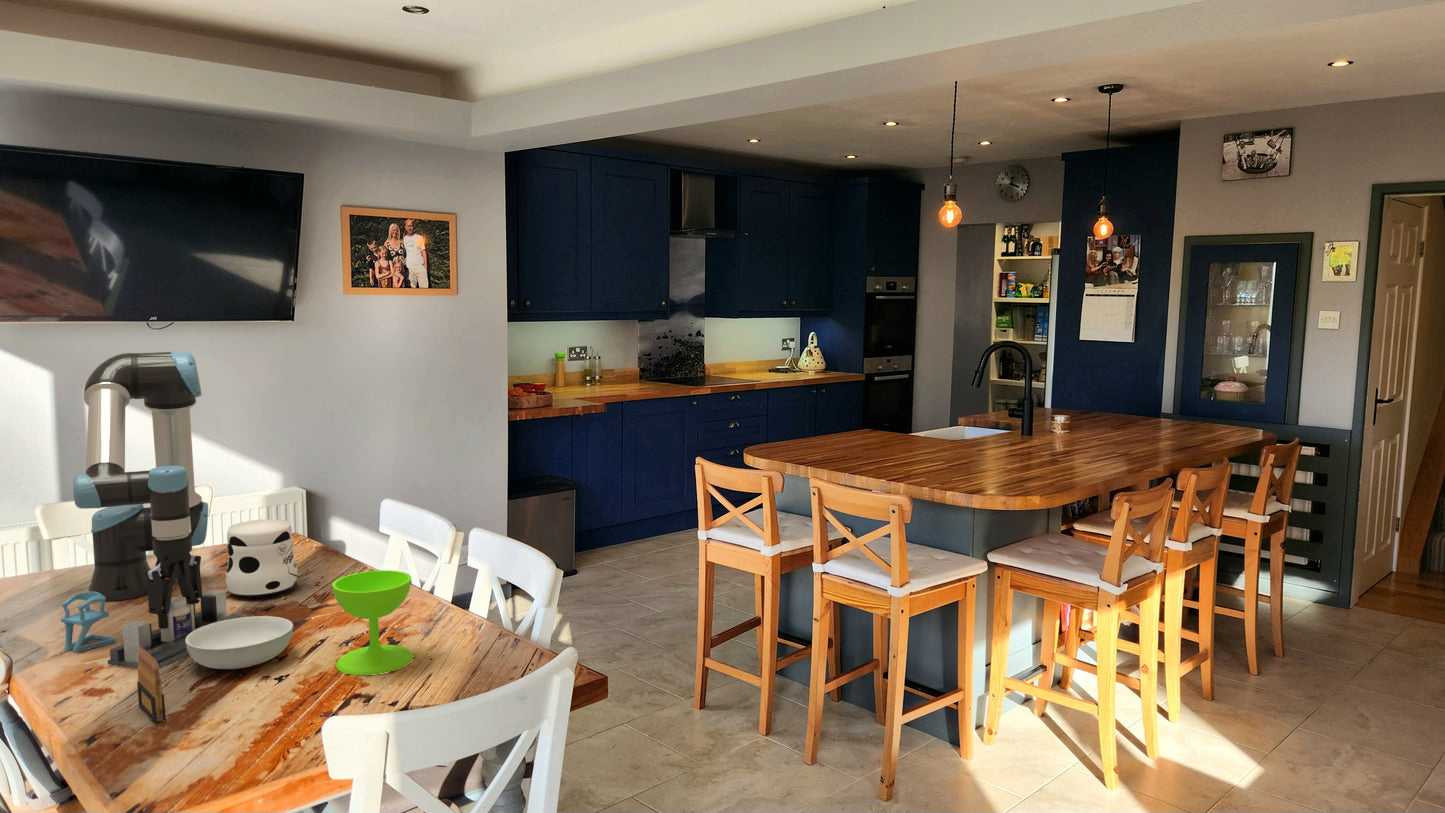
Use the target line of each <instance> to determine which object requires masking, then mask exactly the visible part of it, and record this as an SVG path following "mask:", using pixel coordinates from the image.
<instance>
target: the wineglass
mask: <svg viewBox="0 0 1445 813" xmlns="http://www.w3.org/2000/svg"><path fill="white" fill-rule="evenodd" d="M411 582H412V576H411V575H410V574H409V573H406V572H404V571H398V570H389V569H388V570H387V569H386V570H383V569H380V570H367V571H362V572H361V571H360V572H356V573H355V572H354V573H352V574H348V575H344V576H342V577H340V578H337V579H336V580H334V582H332V584H331V585H332V593H333V597H334V599H335V600H336V602H337V605H339V606H340V607H341V608H342V610H343V611H345V612H346V613H348V614H349V615H351V616H353V617H356V618H359V619H365V620H368V628H369V629H368V630H369V631H368V632H369V645H368V646H364V647H363V646H362V647H359V648H356V649H353V650H351V651H348V652H346V653H345V654H343V655H342V656H341V657H340V658H339V659H338V660H337V662H336V664H335V669H336V668H337V669H338V670H339V671H341V672H343V673H346V674H352V675H372V674H380V673H385V672H389V671H394V670H396V669H399V668H401V667H404V666H405V665H407V664H408V663H410V662H411V661H412V659H413V655H414V653H413V652H412V651H411V650H410V649H409V648H406V647H404V646H402V645H398V644H380V632H379V631H380V627H379V626H380V625H379V618H383V617H386V616H388V615H390V614H392V613H393V612H395V611H396V610H397V609H398V608H400V606H402V604H403V603H404V601H405V600H406V598H407V597H408V594H409V592H410V589H411ZM413 660H414V659H413ZM412 662H413V661H412ZM412 662H411V663H412ZM411 663H410V664H411ZM404 668H405V667H404ZM337 669H336V670H337ZM338 670H337V671H338ZM339 671H338V672H339ZM341 672H340V673H341ZM394 672H395V671H394ZM343 673H342V674H343ZM346 674H345V675H346Z"/></svg>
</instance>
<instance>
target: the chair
mask: <svg viewBox="0 0 1445 813" xmlns="http://www.w3.org/2000/svg"><path fill="white" fill-rule="evenodd" d="M77 600H80V601H84V602H83V603H82V604H80V605H79V606H77V609H78V611H79V612H78V613H74V614H70V612H71V611H70V609H69V608H68V606H70V604H71V603H73V602H74V601H77ZM105 600H106V598H105V597H104V596H103V595H102V594H100V593H98V592H94V591H90V592H89V591H86V592H81V593H78V594H74V595H73V596H70V597H69V598H67V600H66V601H64V602H62V603H61V604H60V605H61V607H62V608H63V610H64V617H62V618H60V622H61V623H64V626H65V627H64V628H65V642H64V644H65V645H64V646H65V647H64V652H69V650H70V651H72V653H73V652H76V653H78V652H77V651H80V652H83V651H86V650H85V649H87V650H89V649H88V648H91V649H93V648H92V647H95V648H97V646H99V647H101V645H103V646H106V645H105V644H107V645H110V643H111V644H113V642H114V643H116V642H117V638H116V637H113V636H107V635H100V634H95V633H91V634H88V632H89V630H90V629H91V627H92V626H93V625H94V624H95V623H97V622H99V621H101V620H102V619H105V618H107V617H110V612H108V611H105V608H104V607H105V604H106V601H105ZM95 603H100V605H99V608H98V609H99V610H94V609H91V607H90V605H92V604H95ZM75 625H76V626H81V627H82V628H81V631H80V634H79V636H78V638H77V640H76V641H75V642H73V635H74V634H73V633H74V626H75ZM91 638H92V639H94V638H97V639H96V640H99V639H101V640H100V641H96V642H92V643H86V642H88V641H90V640H92V639H91ZM89 639H90V640H89ZM87 640H88V641H87ZM84 642H85V643H86V644H85V643H84ZM82 643H83V644H82ZM71 649H72V650H71ZM82 650H83V651H82Z"/></svg>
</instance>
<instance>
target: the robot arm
mask: <svg viewBox="0 0 1445 813" xmlns="http://www.w3.org/2000/svg"><path fill="white" fill-rule="evenodd" d="M202 394H203V393H202V388H201V383H200V377H199V372H198V367H197V364H196V359H195V357H194V356H193V354H192V353H189V352H180V351H179V352H175V351H167V352H166V351H161V352H142V353H141V352H139V353H138V352H136V353H135V352H133V353H132V352H126V353H125V352H124V353H121V354H117V355H113V356H112V357H110V358H108V359H106V360H104V361H103V362H102V363H100V364H99V365H98V366H97V367H96V368H95V369H94V370H93V371H92V372H91V374H90V375H89V376H88V378H87V381H86V383H85V386H84V388H83V400H84V403H85V404H86V405H87V408H88V411H87V432H86V454H85V455H86V456H85V457H86V458H85V473H84V474H80V475H76V476H75V477H74V478H73V481H72V484H73V488H72V493H73V500H74V504H75V507H76V508H78V509H100V510H97V511H95V513H94V514H93V515H92V518H91V531H90V532H91V533H92V543H93V544H92V546H93V563H94V569H93V572H92V577H91V582H90V585H89V586H88V591H87V592H90V591H94V592H98V593H100V594H102V595H103V596H104V597H105V598H106V600H105V602H115V601H114V600H117V601H124V599H125V600H130V599H135V598H139V597H142V596H146V595H148V596H147V597H148V613H149V614H153V615H157V622H158V629H160V628H161V641H163V642H169V641H172V640H174V629H173V614H172V613H169V609H170V603H171V598H172V595H173V589H174V588H173V587H174V584H175V583H176V582H177V584H178V587H179V591H180V594H181V597H185V598H186V602H187V603H186V605H185V606H187V607H189V609H190V619H191V632H192V631H194V630H195V622H194V616H195V614H196V613H197V612H196V604H199V603H200V598H201V597H202V593H203V588H202V576H201V562H202V561H201V560H202V557H201V556H200V555H193V554H191V553H190V552H192V550H193V547H197V546H201V545H202V544H204V543H205V541H206V539H207V538H206V537H207V531H208V522H209V521H208V520H209V518H208V517H209V503H208V502H206V501H203V496H201V495H200V494H199V493H197V491H196V487H195V472H194V457H193V442H192V441H193V440H192V439H193V438H192V425H191V411H190V410H191V408H193V407H194V406H195V405H196V403H197V399H196V398H199V397H201V396H202ZM134 399H135V400H143V402H144V407H145V408H147V409H148V410H149V411H151V417H152V420H151V421H152V430H153V432H152V433H153V445H154V457H155V458H154V459H155V467H153V468H151V469H150V470H138V471H126V407H127V406H128V405H129V404H130V401H131V400H134ZM147 504H150V505H149V506H150V507H144V505H147ZM152 551H153V555H154V556H155V557H156V562H155V566H154V567H153V568H152V569H151V567H150V565H149V564H148V560H147V552H152ZM145 594H146V595H145Z"/></svg>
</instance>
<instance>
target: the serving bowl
mask: <svg viewBox="0 0 1445 813" xmlns="http://www.w3.org/2000/svg"><path fill="white" fill-rule="evenodd" d="M293 631H294V624H293V622H292V621H291V620H290V619H287V618H284V617H279V616H271V615H269V616H268V615H263V616H261V615H260V616H259V615H258V616H257V615H255V616H243V617H240V618H235V619H229V620H224V621H220V622H216V623H212V624H209V625H206V626H203V627H200V628H198V629H196V630H194V631H193V632H191V633H190V634H189V635H188V636H187V637H186V639H185V643H186V647H187V650H188V653H189V656H190V657H191V658H192V659H193V660H194V661H195V662H196V663H198V665H200V666H202V667H206V668H209V669H217V670H239V669H240V668H241V669H246V668H250V667H254V666H256V665H260V664H263V663H265V662H268V661H269V660H272V659H273V658H275V657H277V656H278V655H280V654H281V653H282V652H283V651H284V650H285V649H286V648H287V647H288V645H289V644H290V642H291V640H292V636H293ZM253 665H254V666H253Z"/></svg>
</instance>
